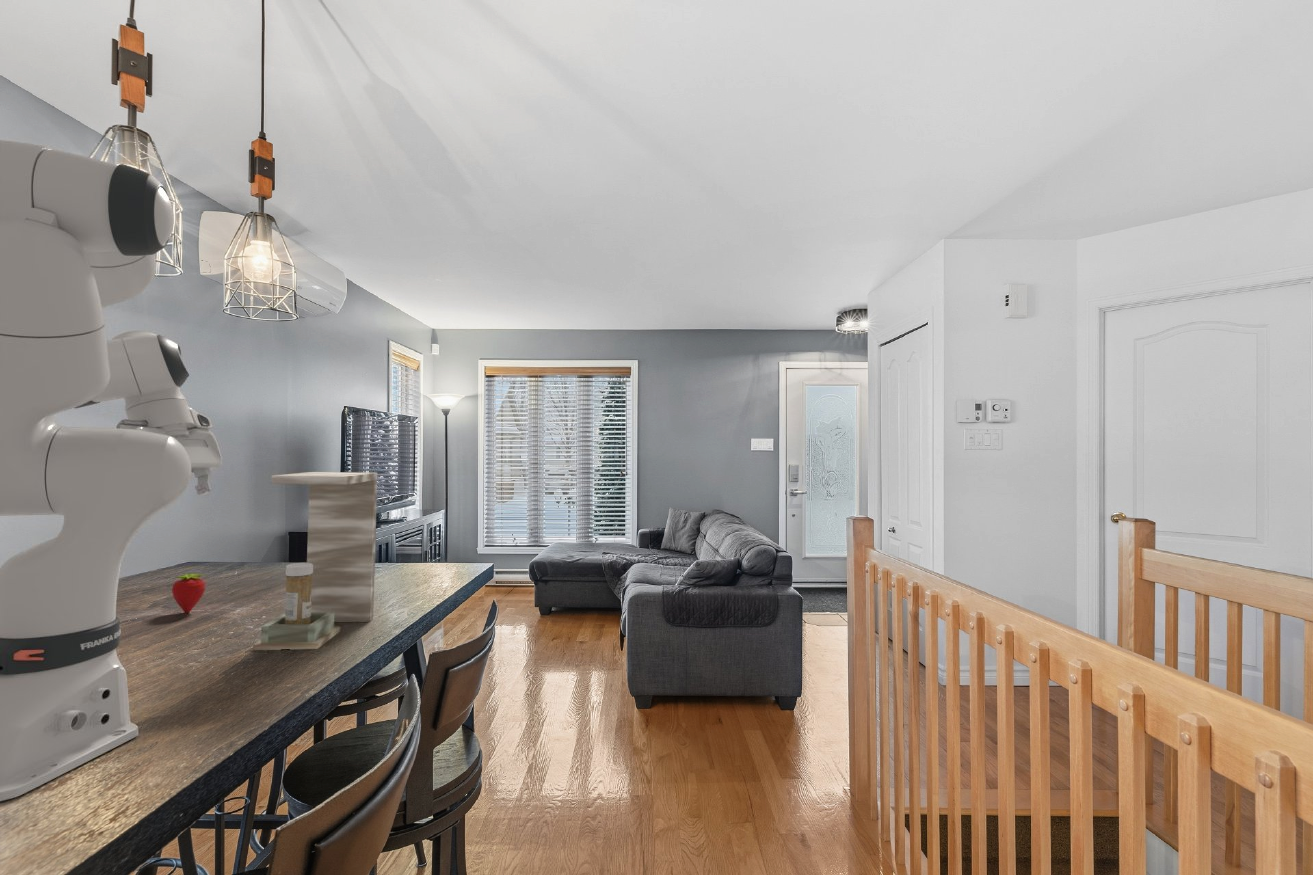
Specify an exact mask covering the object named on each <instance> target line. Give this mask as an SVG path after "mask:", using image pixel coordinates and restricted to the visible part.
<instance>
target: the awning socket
mask: <svg viewBox="0 0 1313 875" xmlns="http://www.w3.org/2000/svg"><path fill="white" fill-rule="evenodd" d="M270 480H271V484H272V485H308V489H309V490H308V512H307V513H308V515H307V516H308V517H307V548H306V549H307V551H306V563H312V564H313V573H312V586H311V587H312V588H311V591H312V598H311V624H285V621H286V620H285V613H283V614H281V615H279V616H277V617H276V618H274V619H272V620H270V621H269V622H267V623H265V624H264V625H262V626H261V629H260V630H261V632H260V633H261V634H260V640H259V641H257V642H255V643H254V644H253V645H252V651H280V650H281V649H290V650H318V649H319V648H321V647H322V646H323V645H325V644H326V643H327V642H328V641H330V640H331V639H332V638H333V637H335V636H336V635H338V634H339V633H340V632H341V626H338V625H337V626H336V625H335V623H346V622H347V623H350V622H351V623H354V622H355V623H359V622H360V623H361V622H366V623H367V622H371V621H373V619H374V604H375V600H374V599H375V574H376V573H375V571H376V570H375V569H376V567H375V566H376V564H375V563H376V533H377V530H376V529H377V528H376V527H377V501H378V500H377V498H378V497H377V496H378V495H377V494H378V472H356V471H355V472H353V471H352V472H351V471H350V472H349V471H347V472H346V471H345V472H344V471H343V472H337V471H334V472H333V471H310V472H309V471H308V472H298V473H297V472H296V473H288V474H287V473H285V474H276V475H275V474H274V475H271V479H270Z"/></svg>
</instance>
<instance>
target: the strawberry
mask: <svg viewBox="0 0 1313 875" xmlns="http://www.w3.org/2000/svg"><path fill="white" fill-rule="evenodd" d="M194 567H195V566H193V567H192V568H191V569H190V570H189V571H188V573H186V574H185V575H177V576H176V577H175V579H178V580H175V582H174V583H173V584H172V588H171V592H172V596H173V599H174V600H175V602H176V604H177V605H178V606H179V607H180V609H182V611H183V613H186V614H188V613H191V611H192V610H193V609H194V607H195V606H197V604H198V603H199V601H200V600H201V599H202V597H203V596H204V593H205V590H206V587H207V586H206V581H204V579H202V578H200V577H206V575H207V574H196V573H194V574H193V573H192V574H190V572H192V570H193V569H194Z"/></svg>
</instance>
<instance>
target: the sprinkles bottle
mask: <svg viewBox="0 0 1313 875" xmlns="http://www.w3.org/2000/svg"><path fill="white" fill-rule="evenodd" d="M312 573H313V564H312V563H307V562H297V563H296V562H295V563H290V564H286V566H285V578H286V583H285V584H286V586H285V587H286V588H285V600H284V601H285V602H284V603H285V608H284V610H285V612H284V614H285V620H286V621H285V624H311V598H312V591H311V588H312V587H311V586H312Z"/></svg>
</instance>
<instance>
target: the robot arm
mask: <svg viewBox="0 0 1313 875" xmlns="http://www.w3.org/2000/svg"><path fill="white" fill-rule="evenodd" d="M174 216H175V214H174V210H173V205H172V203H171V200H170V198H169V194H168V191H167V189H166V187H165V186H164V185H163V184H162V183H161V182H160V181H159V179H157V178H155V176H154V175H152V174H151V173H148V172H146V171H144V170H141V169H139V168H136V167H133V166H130V165H127V164H123V163H120V164H118V165H116V164H114V163H110V162H106V161H103V160H99V159H96V158H92V157H88V156H84V155H79V154H77V153H71V152H67V151H64V150H63V151H62V150H57V149H56V150H55V149H54V148H53V147H52V146H45V145H39V144H32V143H27V142H21V141H19V142H18V141H12V140H4V139H3V140H2V139H0V517H7V516H8V517H9V516H10V517H11V516H13V517H15V516H43V515H44V516H51V515H53V516H54V515H58V516H63V524H62V527H61V530H60V532H59V533H58V534H57V536H56V537H54V538H52V539H49V540H45V541H43V542H41V543H39V544H35V545H34V546H32V547H29V548H27V549H25V550H21V551H20V552H18V553H16V554H15V555H13V556H11V557H10V558H9V559H7V560H6V561H5V562H4V563H3V564H2V565H1V566H0V802H4V801H6V800H10V799H13V798H17V797H19V796H22V795H23V794H26V793H28V792H30V791H32V790H34V789H36V788H38V787H40V786H42V785H45V783H48V782H51V781H52V780H53V779H55V778H57V777H59V776H62V775H64V774H65V773H67V772H69V771H71V770H74V769H75V768H77V767H79V766H81V765H83V764H85V763H87V762H89V761H91V760H93V759H94V758H97V757H98V756H101V755H102V754H105V753H107V752H108V751H111V750H112V749H114V748H116V747H118V746H120V745H122V744H124V743H126V742H129V740H132V739H134V738H136V737H138V736H139V726H138V725H137V724H135V723H133V722H131V716H130V705H129V704H130V703H129V690H128V688H129V687H128V680H127V679H128V678H127V671H126V669H125V667H124V666H123V665H122V663H121V662H120V660H119V658H118V657H119V656H118V654H117V648H118V647H119V646H120V644H121V643H120V642H121V641H120V636H121V634H122V628H121V622H120V621H121V620H120V617H118V616H117V614H116V613H117V601H118V600H117V597H118V596H117V595H118V589H119V588H118V587H119V579H120V574H121V566H122V562H123V559H124V556H125V553H126V550H127V549H128V547H129V545H130V543H131V541H132V540H133V539H134V537H135V536H136V534H137V533H138V532H139V530H141V528H142V527H143V526H145V525H146V523H148V522H149V521H150V520H151V519H152V518H153V517H154V516H156V515H158V513H160V512H161V511H163V510H165V509H167V508H169V507H171V505H173V504H174V503H175V502H176V501H177V500H179V499H180V498H181V496H183V494H185V491H186V489H187V488H188V486H189V484H190V481H191V477H192V473H193V475H194V477H195V478H197V485H195V486H194V488H195V490H196V493H197V495H202V496H203V495H207V494H210V493H211V492H212V490H213V489H212V486H211V484H210V483H211V478H212V473H211V471H213V470H217V469H220V468H222V465H223V456H222V453H221V449H220V447H219V446H220V445H219V444H218V441H217V437H216V436H215V435H214V433H213V431H211V429H213V428H214V426H213V422H212V420H211V418H209V417H207V416H206V415H204V414H201V413H200V412H198V411H196V410H195V409H193V408H192V407H189V404H188V401H187V399H186V397H185V396H184V394H183V393H182V391H181V389H180V388H181V387H182V386H183V385H184V383H185V382H186V381H187V380H188V378H189V377H190V374H189V372H188V370H187V368H186V367H185V364H184V361H183V358H182V351H181V347H180V345H179V344H177V343H176V342H175V341H173V340H171V339H169V338H167V337H165V336H163V335H160V334H155V333H153V332H150V331H145V330H144V331H143V330H135V331H133V330H131V331H128V332H127V331H126V332H123V333H119V334H118V335H116V336H114V337H113V338H111V339H107V336H106V335H107V334H106V328H105V319H104V312H103V308H106V307H109V306H112V305H115V304H119V303H123V302H126V301H127V300H131V299H132V298H134V297H136V296H138V295H139V294H140V293H142V292H143V291H145V289H147V288H148V286H150V284H151V283H152V281H153V280H154V278H155V276H156V271H157V270H156V269H157V262H156V254H157V253H158V252H160V251H161V250H163V249H164V248H166V247H167V246H168V243H169V241H170V237H171V234H172V233H173V228H174V224H175V217H174ZM119 399H123V400H124V403H125V406H124V410H125V413H126V416H127V418H126V419H121V420H120V422H118V423H117V425H116V427H115V428H113V427H112V428H109V427H108V428H107V427H75V426H72V427H70V426H69V427H68V426H65V425H64V426H63V425H58V424H57V423H56V421H55V417H54V415H56V414H59V413H63V412H65V411H69V410H72V409H79V408H83V407H88V406H93V405H96V404H97V405H98V404H100V403H103V402H108V401H115V400H119Z"/></svg>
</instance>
